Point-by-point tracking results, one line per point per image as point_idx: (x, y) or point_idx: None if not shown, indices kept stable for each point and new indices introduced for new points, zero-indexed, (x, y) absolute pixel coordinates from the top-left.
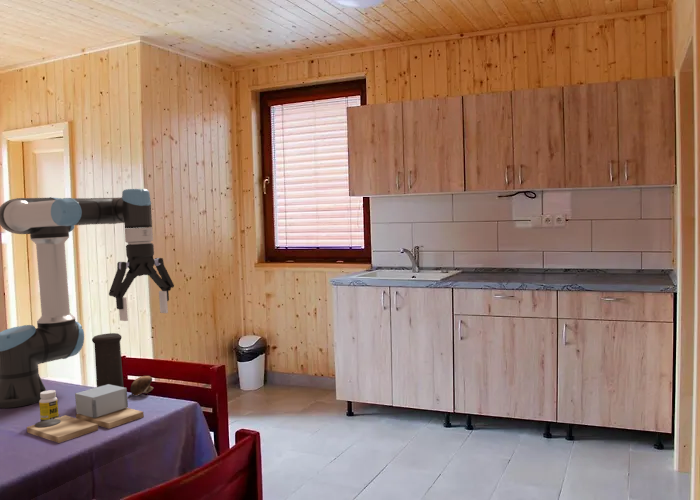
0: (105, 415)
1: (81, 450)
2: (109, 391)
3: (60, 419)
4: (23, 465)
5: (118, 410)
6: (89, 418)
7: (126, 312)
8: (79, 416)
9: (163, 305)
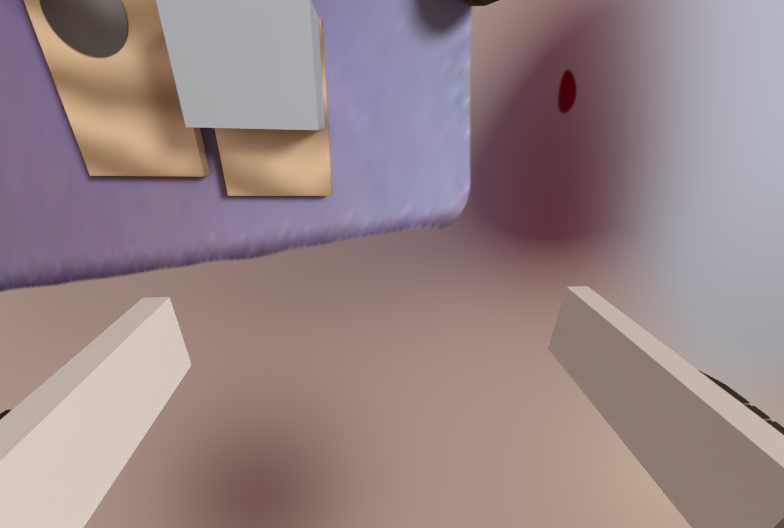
0: None
1: (133, 260)
2: (259, 110)
3: (132, 12)
4: (3, 233)
5: None
6: None
7: (139, 427)
8: None
9: (597, 374)
